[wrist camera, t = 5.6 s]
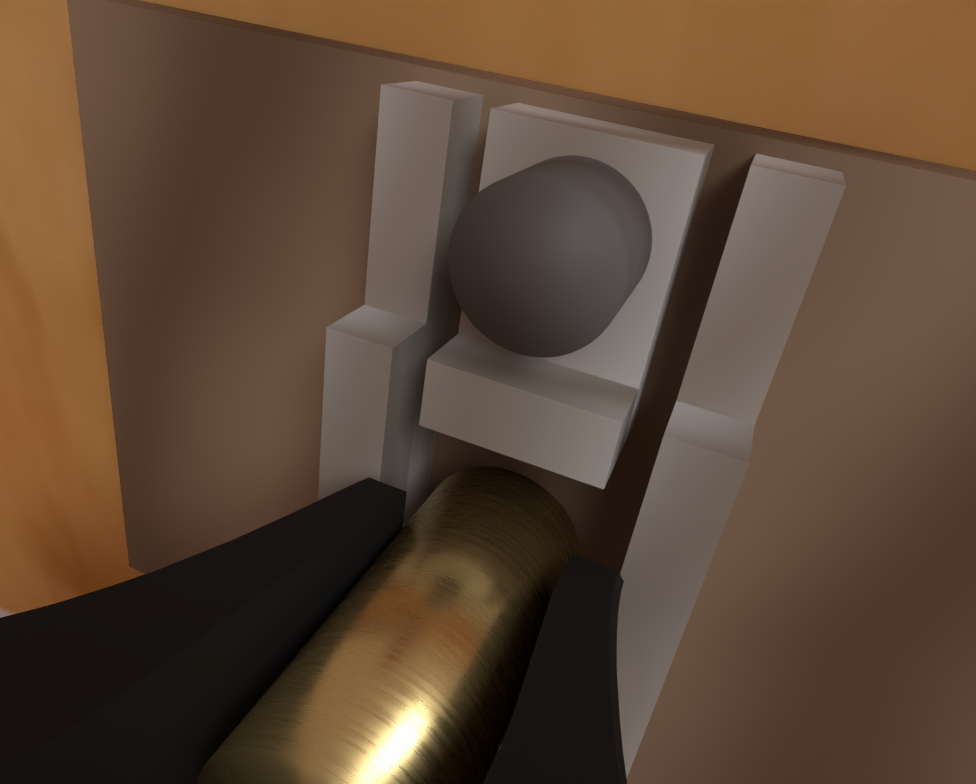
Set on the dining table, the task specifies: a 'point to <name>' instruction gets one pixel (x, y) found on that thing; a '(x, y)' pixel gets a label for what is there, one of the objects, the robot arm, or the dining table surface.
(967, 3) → the dining table surface
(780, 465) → the grey mounting plate
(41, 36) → the dining table surface
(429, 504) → the brass pin
